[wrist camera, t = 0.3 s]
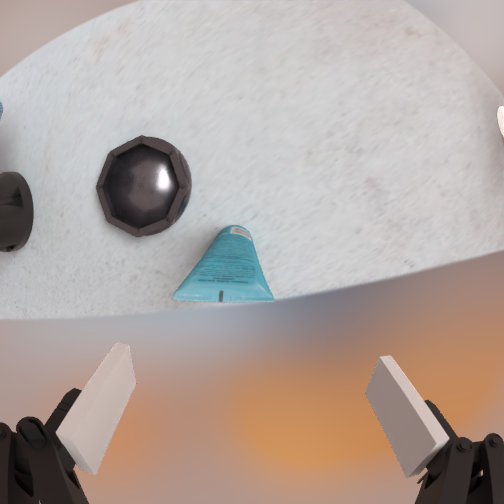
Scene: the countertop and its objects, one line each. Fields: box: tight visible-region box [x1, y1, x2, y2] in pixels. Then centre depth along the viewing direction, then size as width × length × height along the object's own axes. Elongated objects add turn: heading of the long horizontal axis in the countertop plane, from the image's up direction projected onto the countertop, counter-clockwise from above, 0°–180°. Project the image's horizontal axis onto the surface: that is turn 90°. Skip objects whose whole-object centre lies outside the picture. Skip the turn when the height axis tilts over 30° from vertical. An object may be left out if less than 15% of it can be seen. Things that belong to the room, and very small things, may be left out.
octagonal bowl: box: [96, 135, 192, 237], centre depth 35 cm, size 14×14×2 cm
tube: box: [173, 225, 275, 303], centre depth 29 cm, size 7×5×19 cm, turn 94°
